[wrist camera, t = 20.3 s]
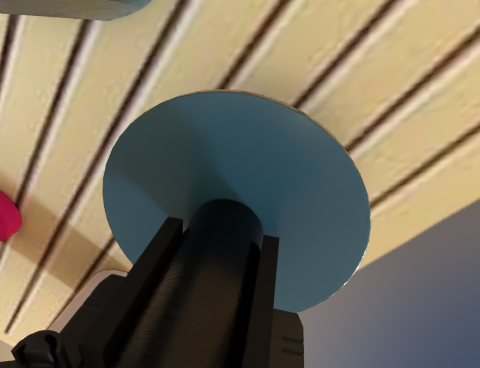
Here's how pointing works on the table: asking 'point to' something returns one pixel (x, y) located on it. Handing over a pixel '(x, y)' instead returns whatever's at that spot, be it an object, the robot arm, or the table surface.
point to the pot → (73, 8)
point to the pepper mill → (8, 217)
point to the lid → (230, 219)
